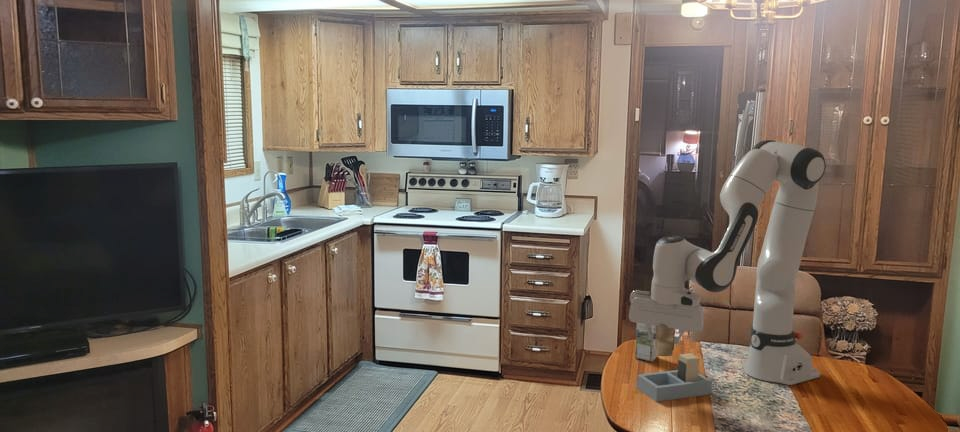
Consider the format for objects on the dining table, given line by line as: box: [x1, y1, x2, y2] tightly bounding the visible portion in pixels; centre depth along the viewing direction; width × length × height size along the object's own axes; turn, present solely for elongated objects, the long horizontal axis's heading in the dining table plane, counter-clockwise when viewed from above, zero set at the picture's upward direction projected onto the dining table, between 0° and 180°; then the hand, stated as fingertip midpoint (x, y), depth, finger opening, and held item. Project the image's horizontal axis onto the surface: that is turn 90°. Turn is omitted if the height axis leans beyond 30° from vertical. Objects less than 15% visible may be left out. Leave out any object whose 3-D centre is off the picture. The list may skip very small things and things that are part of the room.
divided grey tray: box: [636, 352, 713, 403], centre depth 195 cm, size 18×10×10 cm, turn 108°
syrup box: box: [634, 323, 658, 362], centre depth 221 cm, size 6×6×14 cm
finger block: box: [654, 324, 676, 357], centre depth 192 cm, size 4×4×9 cm
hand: (664, 341), depth 192 cm, fingers closed on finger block, 6 cm apart
